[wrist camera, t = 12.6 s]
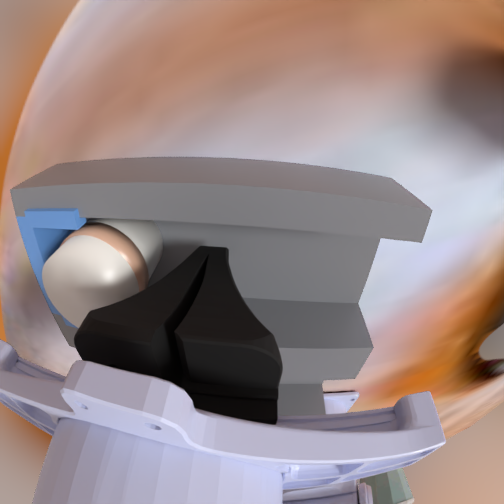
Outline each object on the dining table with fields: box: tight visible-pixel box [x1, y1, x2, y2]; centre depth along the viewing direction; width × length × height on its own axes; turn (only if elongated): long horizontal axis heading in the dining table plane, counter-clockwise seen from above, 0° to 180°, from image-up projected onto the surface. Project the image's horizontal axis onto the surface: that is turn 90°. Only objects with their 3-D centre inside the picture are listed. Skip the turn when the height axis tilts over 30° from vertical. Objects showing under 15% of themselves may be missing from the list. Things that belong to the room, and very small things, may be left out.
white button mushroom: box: [42, 218, 163, 328], centre depth 12 cm, size 5×5×5 cm
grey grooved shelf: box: [10, 157, 432, 416], centre depth 15 cm, size 18×18×4 cm
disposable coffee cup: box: [360, 468, 414, 504], centre depth 30 cm, size 11×11×15 cm
